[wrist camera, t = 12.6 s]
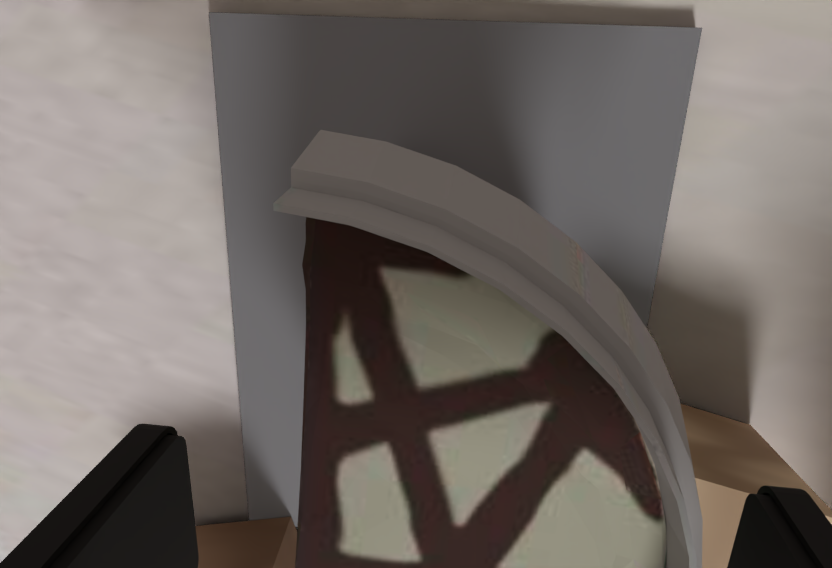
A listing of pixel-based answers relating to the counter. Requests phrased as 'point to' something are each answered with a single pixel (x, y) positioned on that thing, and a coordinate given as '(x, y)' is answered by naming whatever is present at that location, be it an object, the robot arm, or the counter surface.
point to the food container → (473, 382)
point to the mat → (438, 138)
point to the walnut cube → (248, 544)
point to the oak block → (731, 477)
